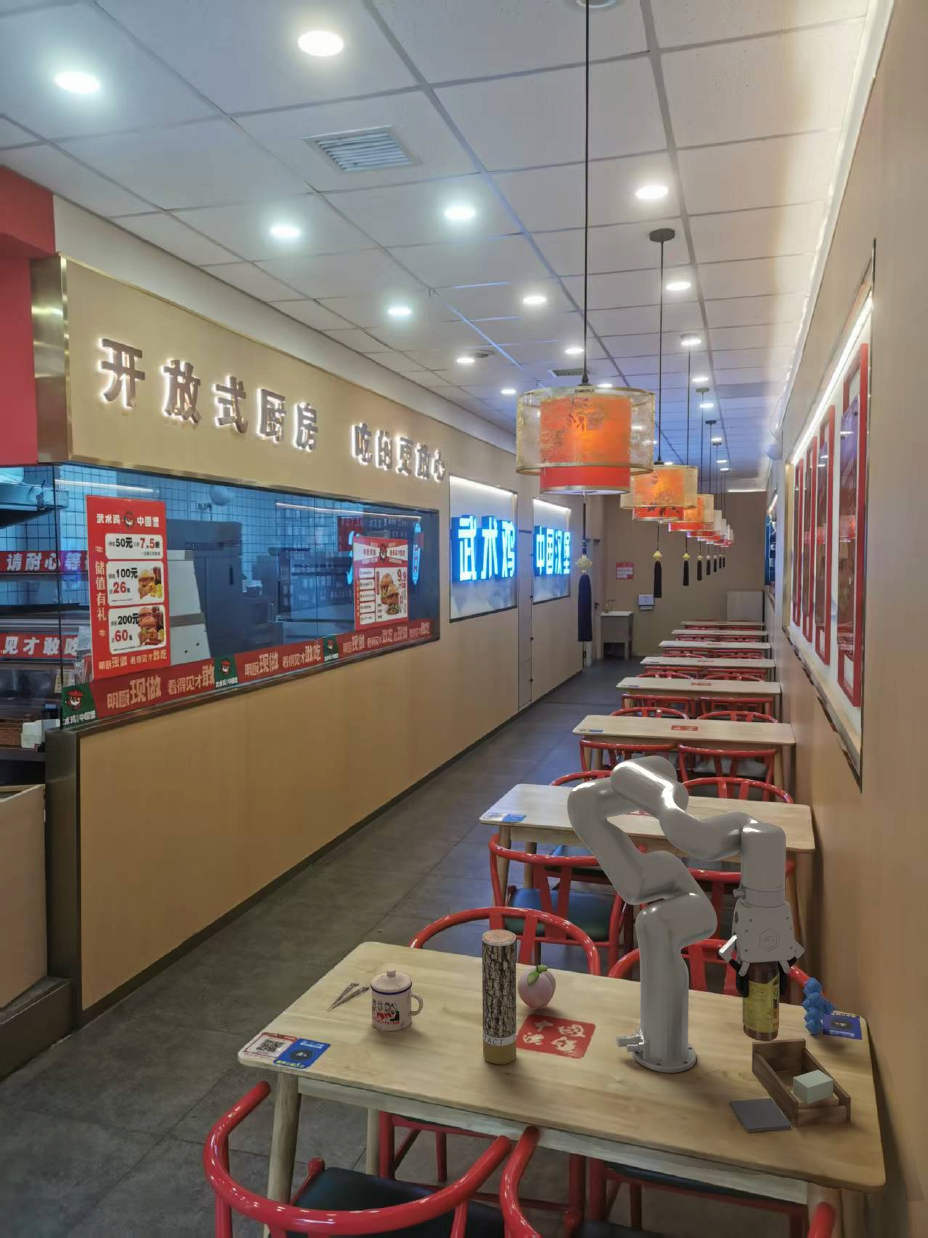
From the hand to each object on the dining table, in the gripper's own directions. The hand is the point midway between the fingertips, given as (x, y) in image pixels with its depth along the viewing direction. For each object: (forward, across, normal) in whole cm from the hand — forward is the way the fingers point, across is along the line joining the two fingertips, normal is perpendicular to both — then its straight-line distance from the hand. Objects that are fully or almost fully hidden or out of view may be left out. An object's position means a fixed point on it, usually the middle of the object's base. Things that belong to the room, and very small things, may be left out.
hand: (761, 992), depth 158 cm
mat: (+23, 0, 0) cm, 23 cm away
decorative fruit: (+23, -32, +43) cm, 59 cm away
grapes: (+23, +24, +25) cm, 42 cm away
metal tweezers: (+24, -76, +52) cm, 95 cm away
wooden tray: (+23, +10, +5) cm, 26 cm away
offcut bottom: (+23, +10, 0) cm, 25 cm away
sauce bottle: (+8, 0, 0) cm, 8 cm away
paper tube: (+23, -44, +25) cm, 55 cm away
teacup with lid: (+23, -63, +41) cm, 79 cm away
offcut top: (+20, +10, 0) cm, 22 cm away
